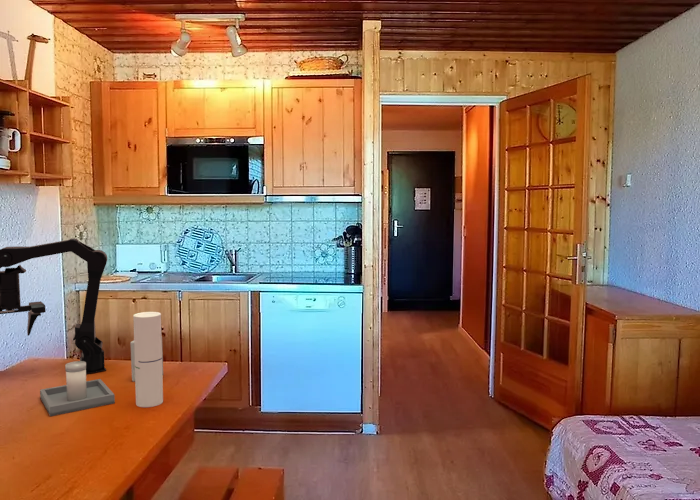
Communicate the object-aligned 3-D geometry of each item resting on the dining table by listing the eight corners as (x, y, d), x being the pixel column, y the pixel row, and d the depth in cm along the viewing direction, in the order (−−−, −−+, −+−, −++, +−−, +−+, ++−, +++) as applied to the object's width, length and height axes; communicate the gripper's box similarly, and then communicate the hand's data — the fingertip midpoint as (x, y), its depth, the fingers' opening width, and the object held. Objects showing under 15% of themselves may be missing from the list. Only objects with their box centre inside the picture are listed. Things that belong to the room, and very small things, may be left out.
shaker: (85, 393, 160) (83, 359, 159) (89, 398, 156) (87, 364, 155) (65, 397, 157) (63, 363, 156) (68, 402, 153) (67, 367, 152)
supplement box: (164, 374, 180) (163, 336, 178) (153, 382, 172) (152, 342, 171) (142, 374, 180) (141, 335, 179) (130, 381, 173) (129, 341, 172)
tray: (100, 386, 168) (100, 378, 168) (114, 403, 155) (114, 394, 155) (40, 398, 158) (39, 389, 158) (50, 416, 146) (49, 407, 145)
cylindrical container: (154, 408, 152) (152, 317, 149) (130, 406, 153) (127, 316, 151) (167, 398, 159) (165, 312, 156) (145, 396, 160) (142, 311, 158)
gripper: (39, 281, 184) (41, 328, 186) (-30, 287, 173) (-27, 336, 174) (44, 286, 175) (46, 335, 177) (-27, 292, 164) (-24, 344, 166)
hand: (11, 337), depth 174 cm, fingers open, 9 cm apart
